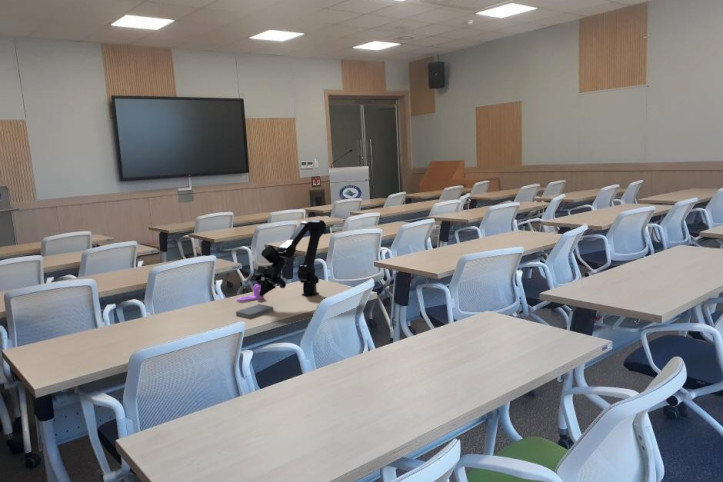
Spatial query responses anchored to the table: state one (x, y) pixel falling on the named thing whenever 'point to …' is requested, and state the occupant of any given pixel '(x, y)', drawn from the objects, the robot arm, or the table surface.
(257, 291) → the bracket
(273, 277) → the robot arm
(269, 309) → the tile
